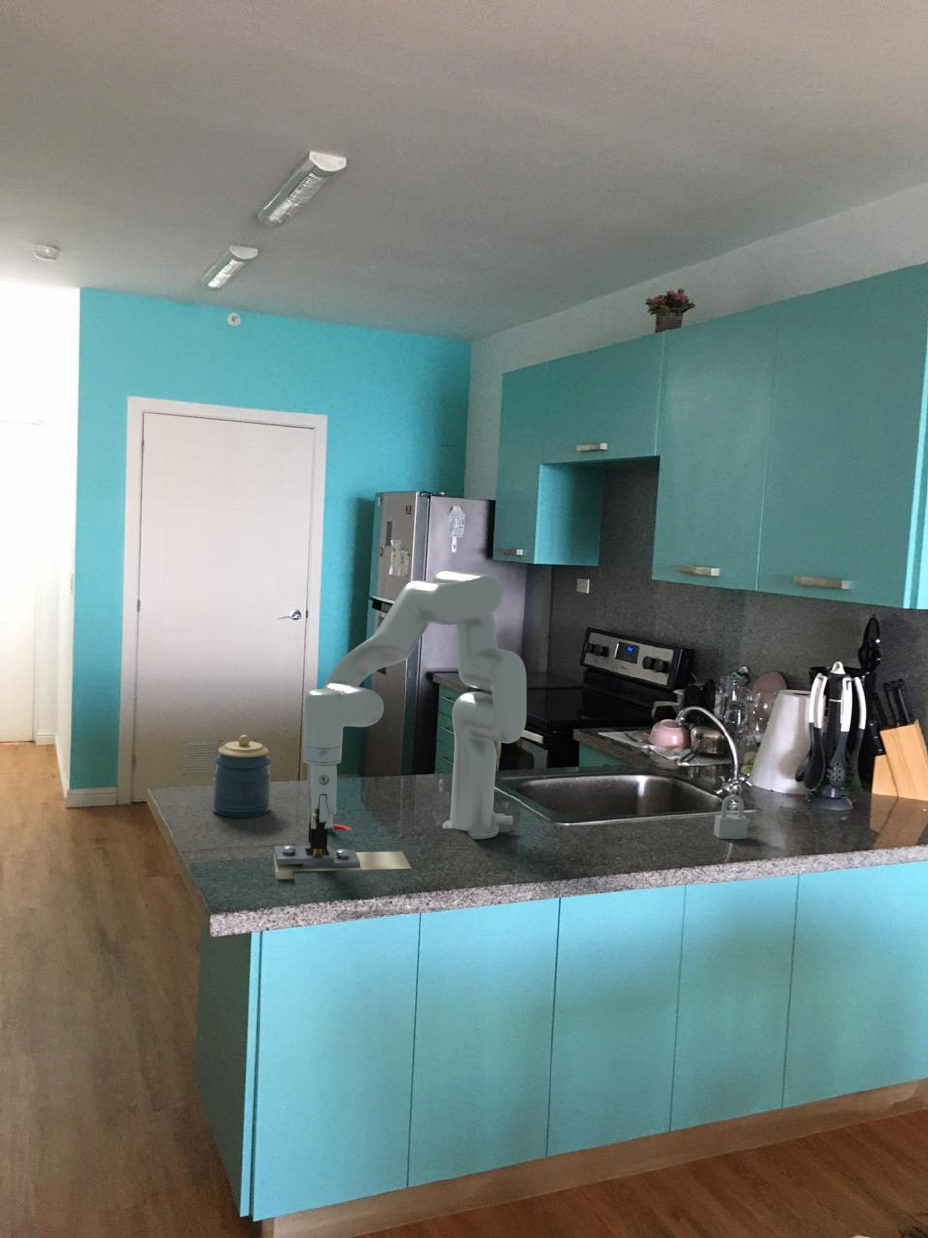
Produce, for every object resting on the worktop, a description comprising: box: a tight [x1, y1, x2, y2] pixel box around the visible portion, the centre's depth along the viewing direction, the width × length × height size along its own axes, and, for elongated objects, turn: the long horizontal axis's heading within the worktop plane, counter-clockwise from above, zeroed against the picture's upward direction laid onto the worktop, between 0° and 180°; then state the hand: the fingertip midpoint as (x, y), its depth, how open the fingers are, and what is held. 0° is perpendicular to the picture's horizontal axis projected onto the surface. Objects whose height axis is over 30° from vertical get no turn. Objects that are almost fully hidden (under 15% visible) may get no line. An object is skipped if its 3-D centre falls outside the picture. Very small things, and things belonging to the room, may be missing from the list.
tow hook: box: [327, 809, 353, 834], centre depth 225 cm, size 8×13×9 cm
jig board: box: [272, 850, 412, 880], centre depth 204 cm, size 26×10×2 cm, turn 104°
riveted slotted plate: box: [273, 844, 360, 869], centre depth 203 cm, size 16×8×3 cm, turn 104°
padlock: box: [713, 794, 749, 840], centre depth 241 cm, size 7×4×10 cm, turn 102°
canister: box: [212, 734, 273, 819], centre depth 237 cm, size 13×13×18 cm
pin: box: [310, 810, 324, 856], centre depth 202 cm, size 3×3×10 cm
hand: (317, 844), depth 203 cm, fingers closed on pin, 2 cm apart
